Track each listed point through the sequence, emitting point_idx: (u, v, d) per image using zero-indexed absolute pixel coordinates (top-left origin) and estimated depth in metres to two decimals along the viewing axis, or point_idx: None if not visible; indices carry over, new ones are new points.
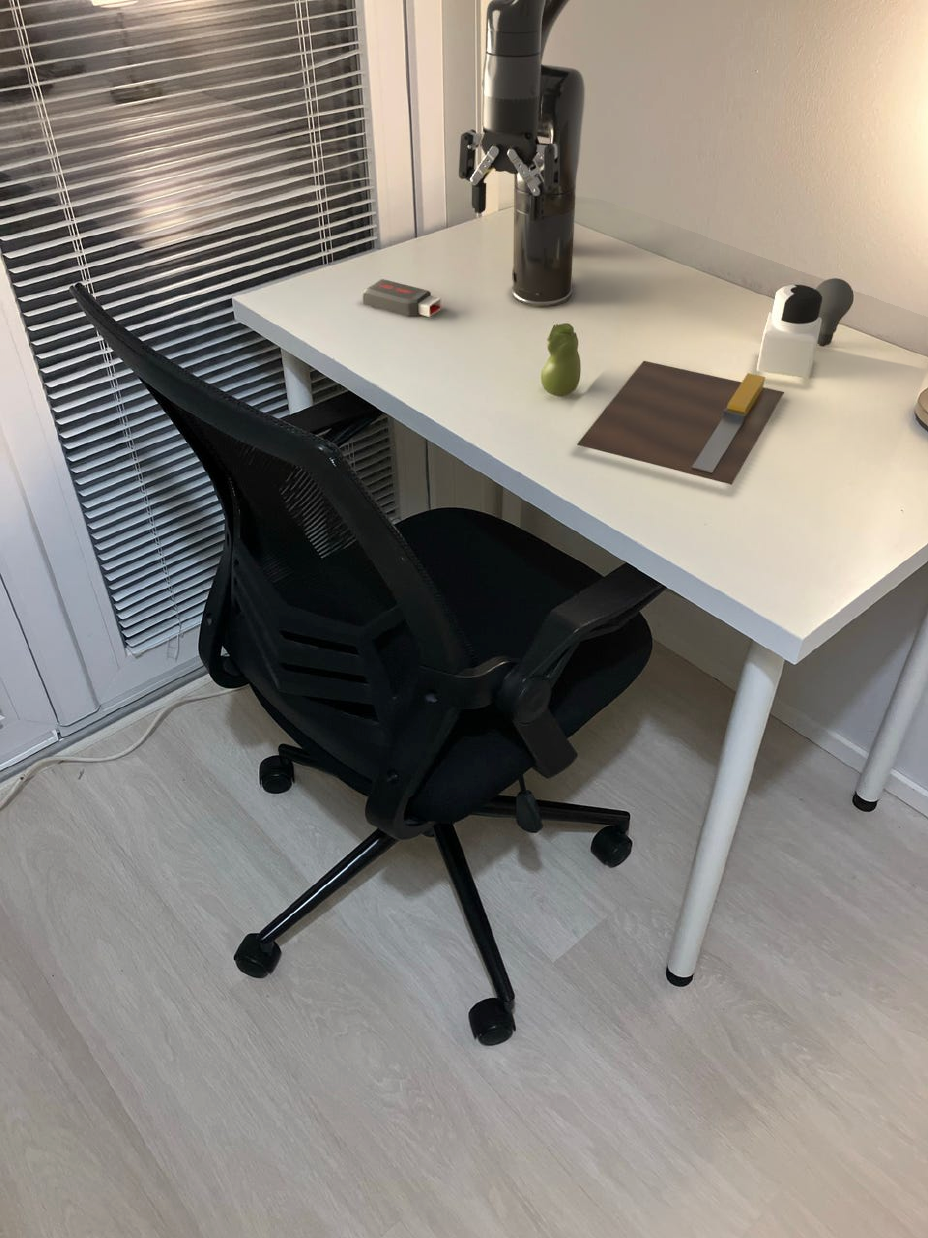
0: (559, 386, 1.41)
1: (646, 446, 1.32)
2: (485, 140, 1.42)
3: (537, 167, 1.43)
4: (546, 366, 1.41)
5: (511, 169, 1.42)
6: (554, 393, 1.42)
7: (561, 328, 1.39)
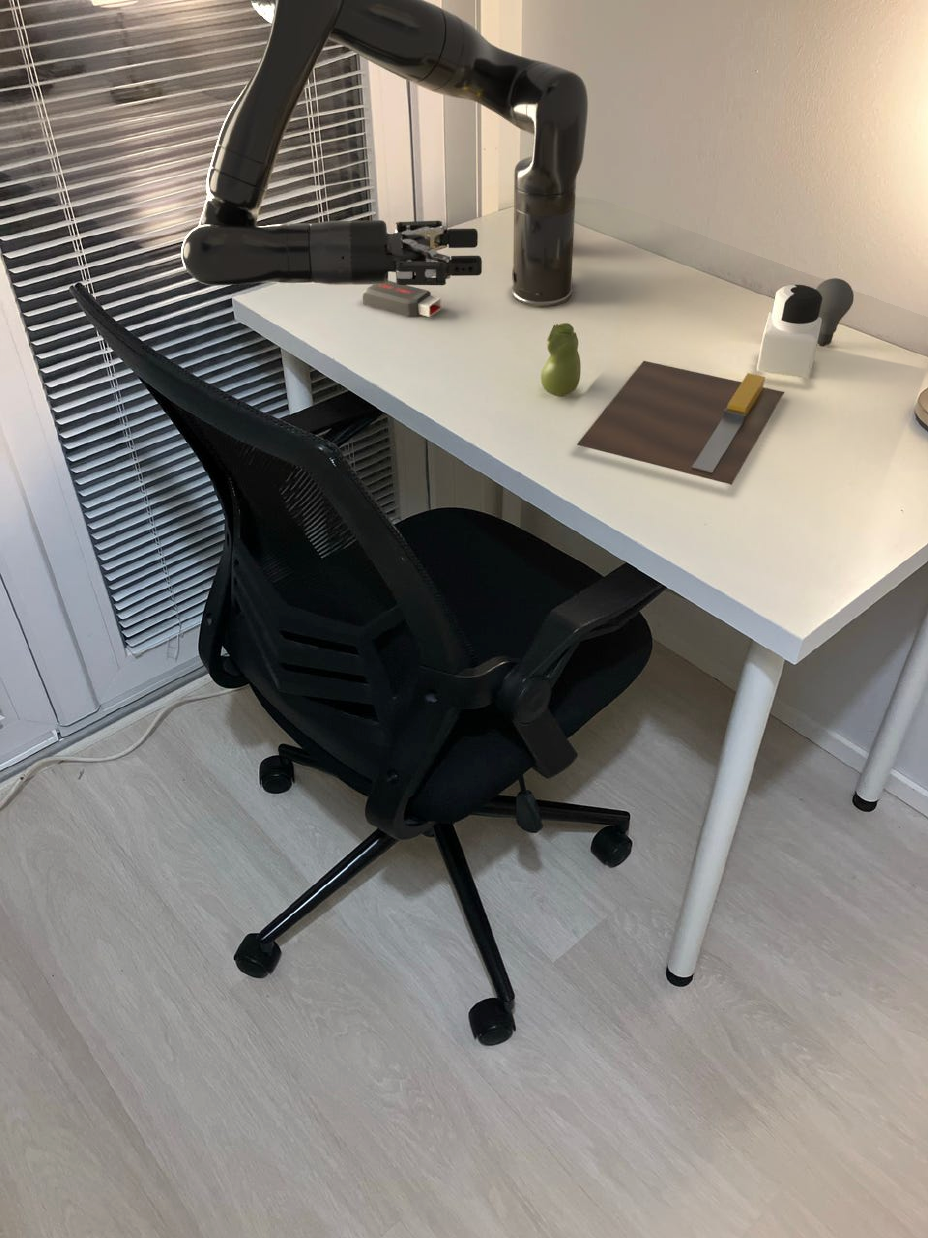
0: (559, 386, 1.41)
1: (646, 446, 1.32)
2: None
3: (426, 253, 1.27)
4: (546, 366, 1.41)
5: None
6: (554, 393, 1.42)
7: (561, 328, 1.39)
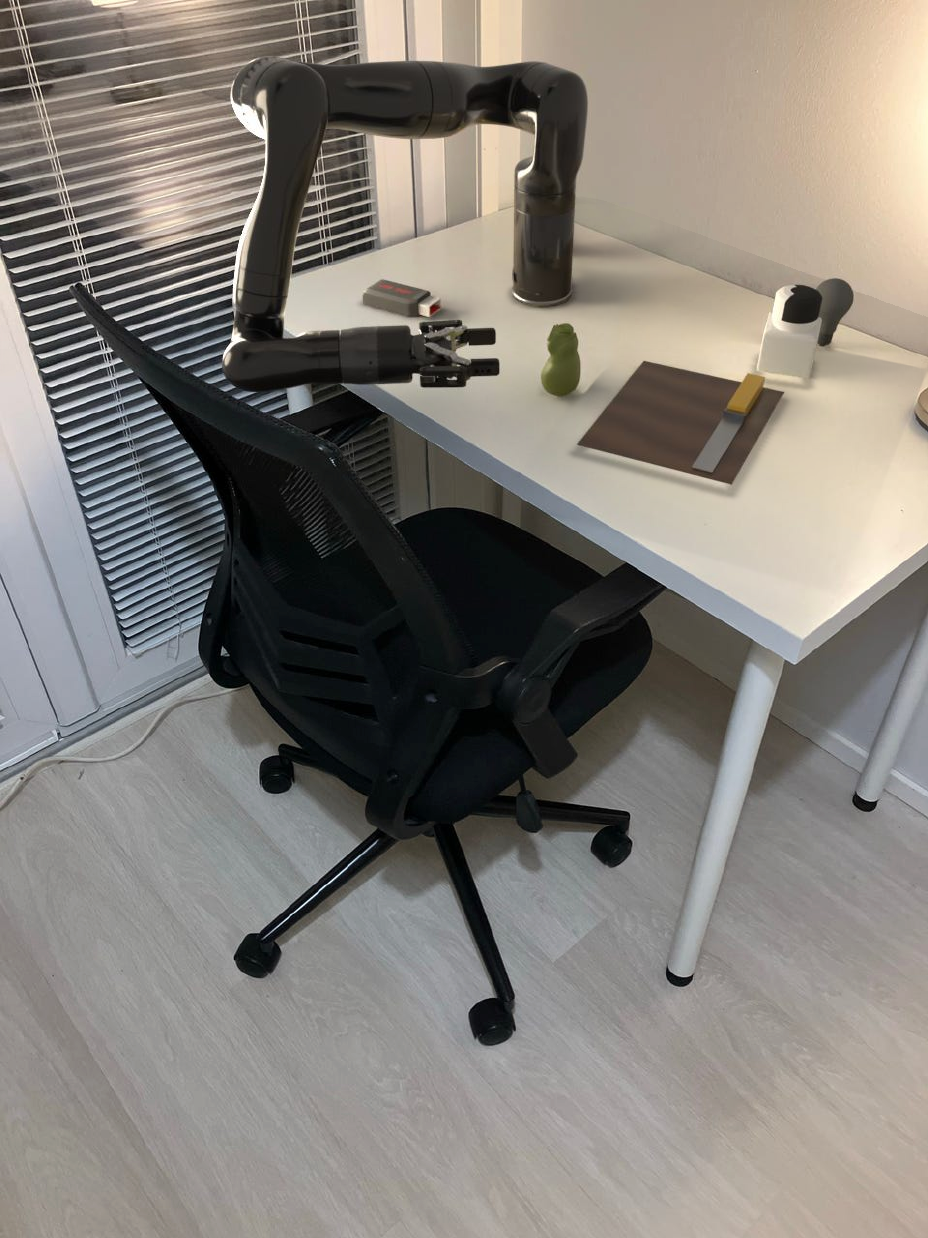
0: (559, 386, 1.41)
1: (646, 446, 1.32)
2: None
3: (447, 357, 1.36)
4: (546, 366, 1.41)
5: None
6: (554, 393, 1.42)
7: (561, 328, 1.39)
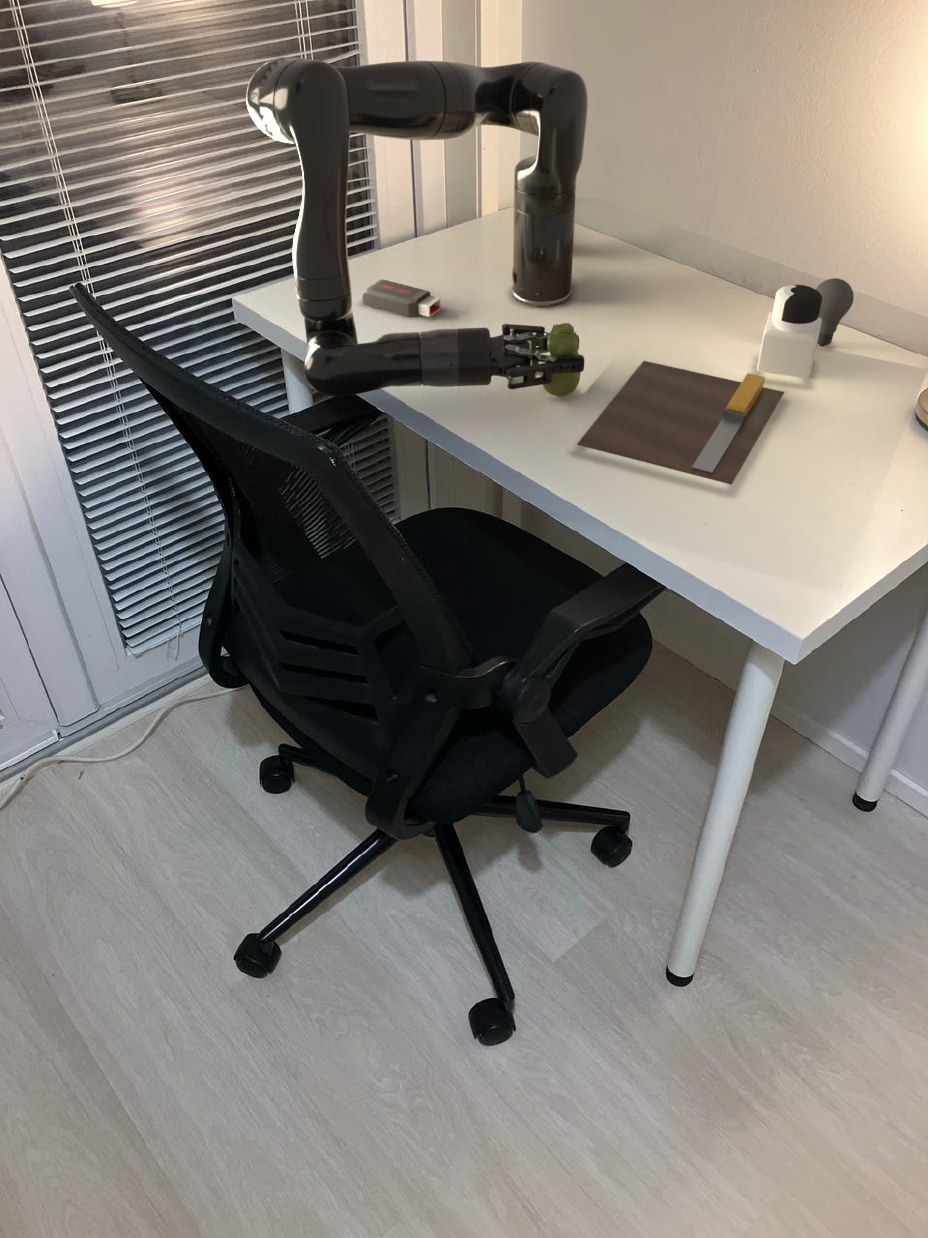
0: (559, 386, 1.41)
1: (646, 446, 1.32)
2: None
3: (532, 356, 1.38)
4: None
5: None
6: (554, 393, 1.42)
7: (561, 328, 1.39)
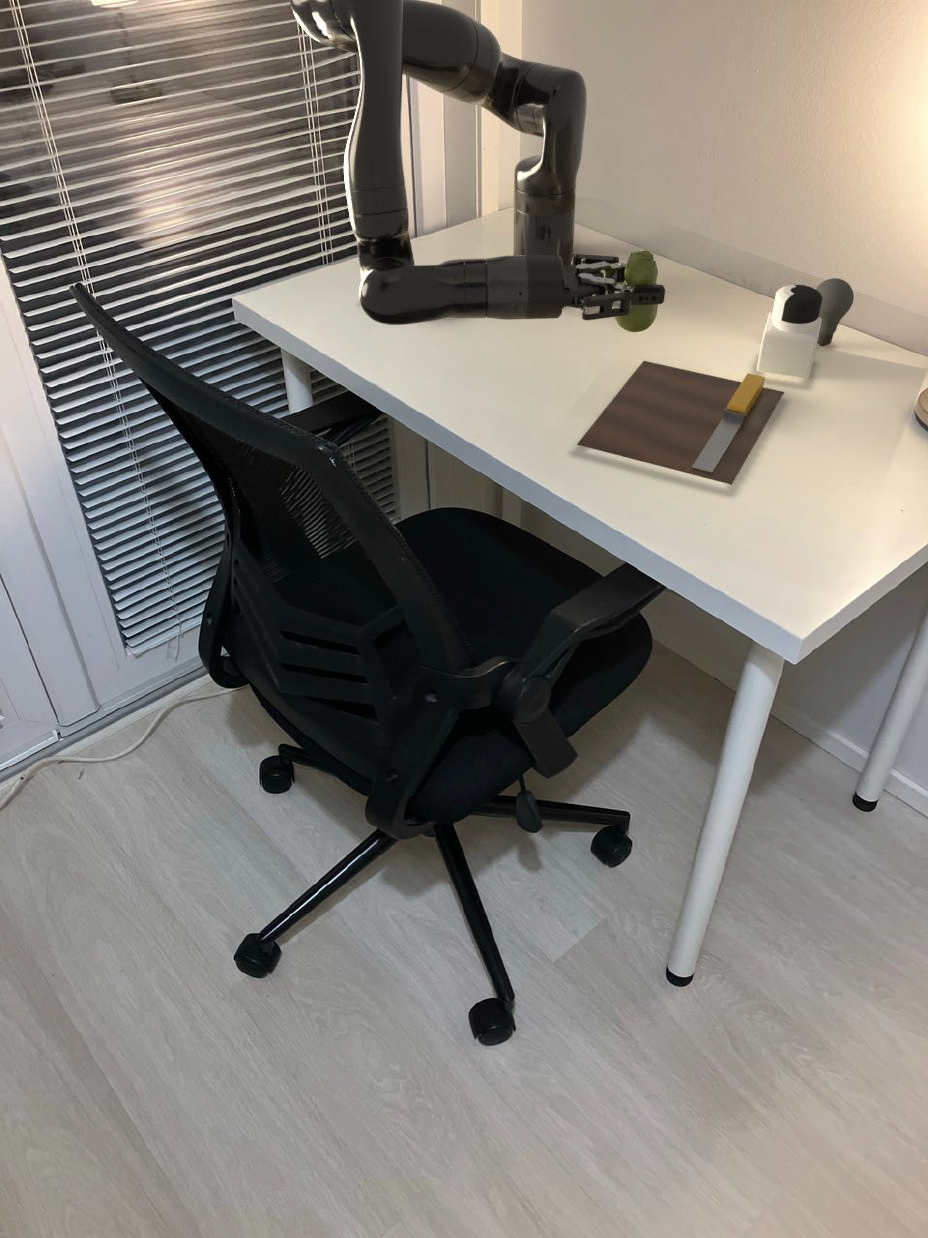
0: (635, 319, 1.30)
1: (646, 446, 1.32)
2: None
3: (608, 285, 1.26)
4: None
5: None
6: (629, 328, 1.31)
7: (640, 255, 1.27)
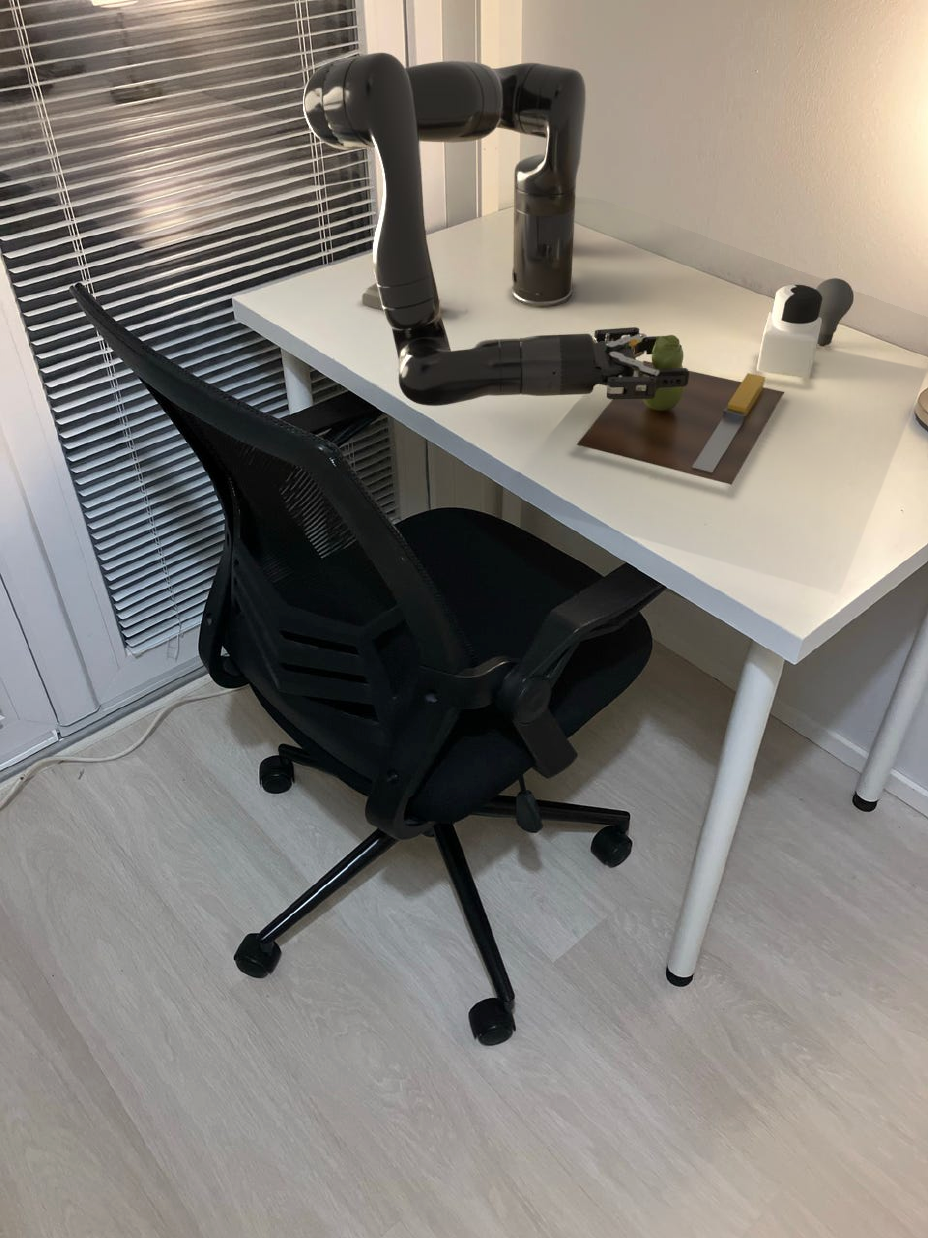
0: (662, 400, 1.35)
1: (646, 446, 1.32)
2: None
3: (634, 367, 1.30)
4: None
5: None
6: (656, 408, 1.36)
7: (666, 340, 1.33)
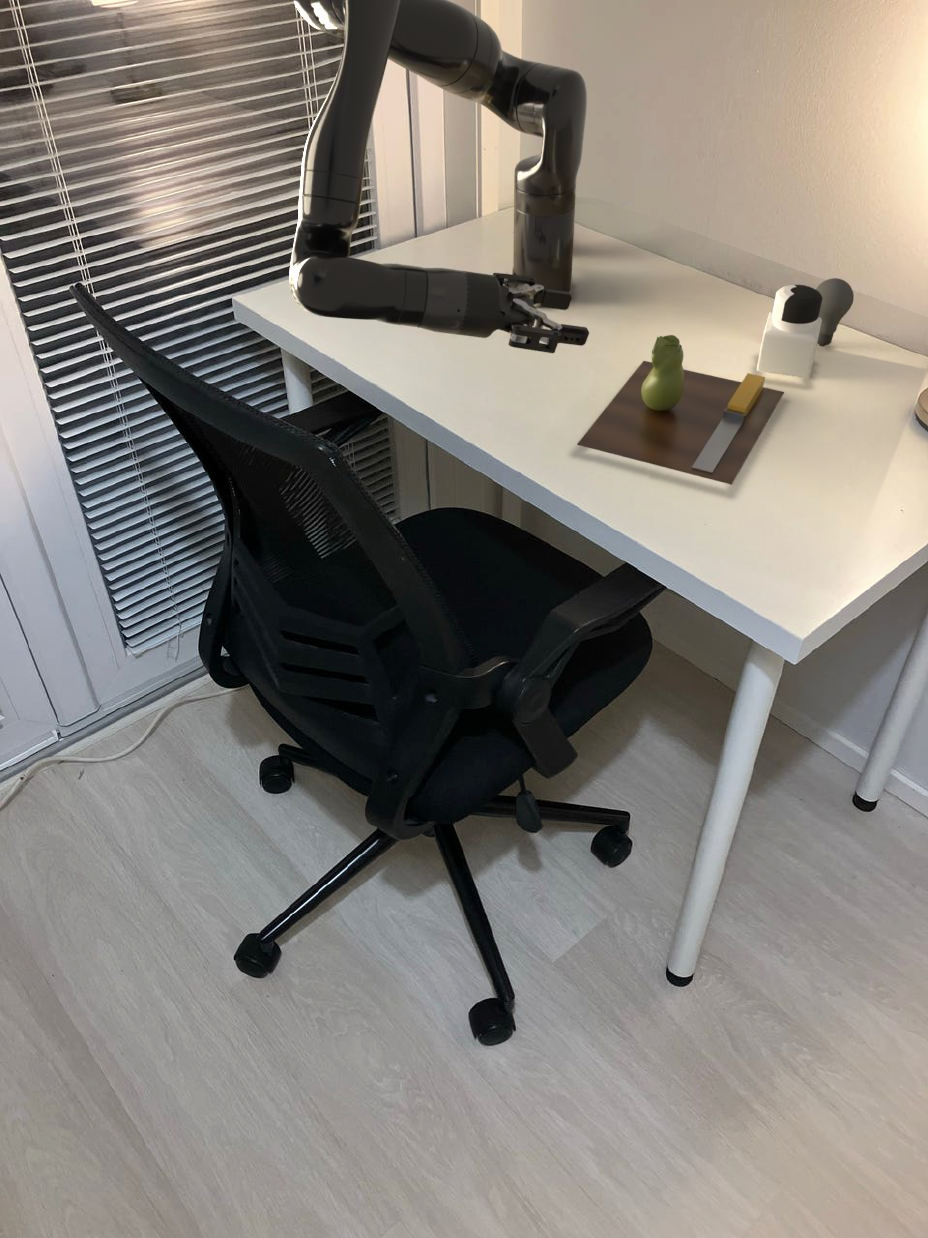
0: (662, 400, 1.35)
1: (646, 446, 1.32)
2: None
3: (538, 318, 1.28)
4: (648, 380, 1.35)
5: None
6: (656, 408, 1.36)
7: (666, 340, 1.33)
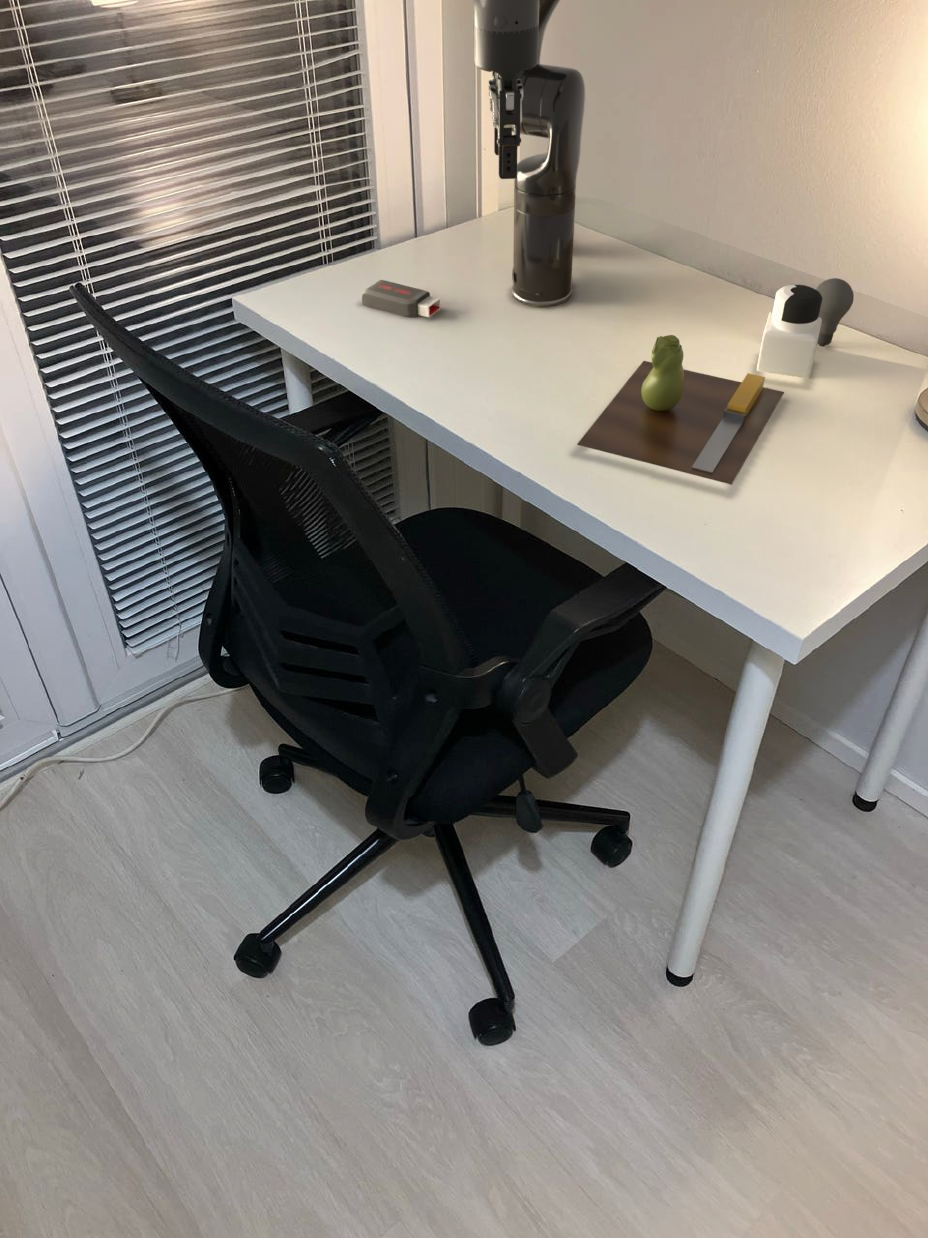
0: (662, 400, 1.35)
1: (646, 446, 1.32)
2: None
3: None
4: (648, 380, 1.35)
5: None
6: (656, 408, 1.36)
7: (666, 340, 1.33)
